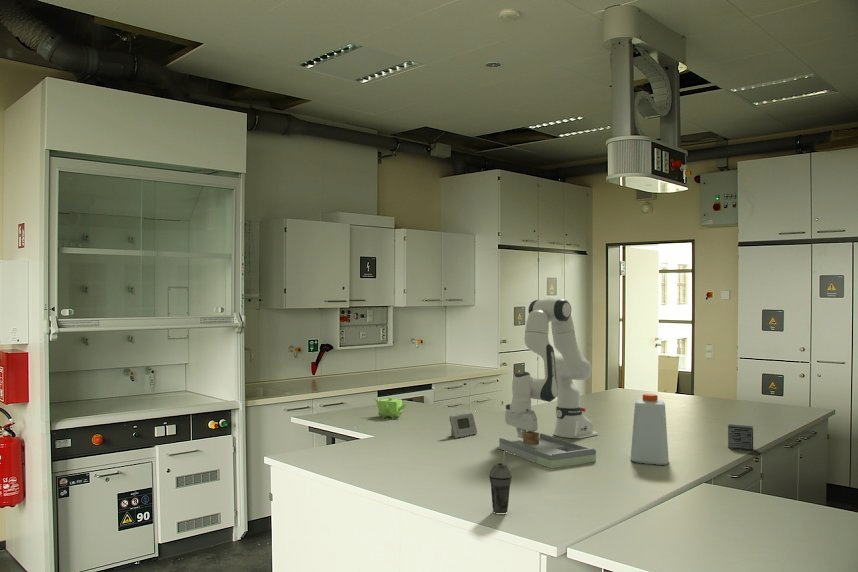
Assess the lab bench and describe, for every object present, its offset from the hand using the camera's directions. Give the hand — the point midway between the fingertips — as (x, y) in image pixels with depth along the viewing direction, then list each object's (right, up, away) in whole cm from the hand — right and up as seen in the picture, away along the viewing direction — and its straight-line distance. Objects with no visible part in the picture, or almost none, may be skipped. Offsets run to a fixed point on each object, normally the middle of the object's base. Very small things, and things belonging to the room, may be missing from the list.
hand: (521, 437), depth 303 cm
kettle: (-64, -4, +70) cm, 95 cm away
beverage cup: (-19, -3, -92) cm, 94 cm away
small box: (+102, -6, +3) cm, 102 cm away
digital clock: (-25, -4, +23) cm, 34 cm away
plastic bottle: (+52, -5, -22) cm, 56 cm away
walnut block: (+4, -1, -6) cm, 7 cm away
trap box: (+9, -4, -15) cm, 18 cm away
